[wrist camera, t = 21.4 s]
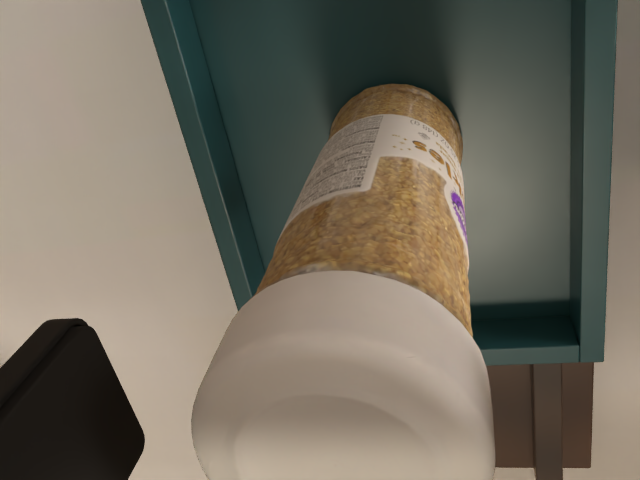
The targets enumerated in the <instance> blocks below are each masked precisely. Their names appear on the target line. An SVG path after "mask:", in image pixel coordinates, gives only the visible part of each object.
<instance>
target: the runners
mask: <svg viewBox="0 0 640 480" xmlns="http://www.w3.org/2000/svg"><path fill="white" fill-rule="evenodd" d="M486 368H487V373H488V378H489V385H490V393H491V401H492V409H493V425H494V441H495V467H499V468H534V472H535V478H536V480H563V468H590V467H591V445H592V410H593V375H594V362H587V363H580V361H579V362H578V363H553V364H523V365H493V366H486Z"/></svg>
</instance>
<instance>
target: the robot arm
mask: <svg viewBox="0 0 640 480" xmlns="http://www.w3.org/2000/svg"><path fill="white" fill-rule="evenodd" d="M144 443H145V438H144V433H143V430H142V428H141V426H140V424H139V422H138V420H137V417H136V415H135V413H134V411H133V409H132V407H131V405H130V403H129V401H128V399H127V396H126V394H125V392H124V390H123V388H122V386H121V384H120V382H119V380H118V377H117V375H116V373H115V371H114V369H113V367H112V365H111V363H110V361H109V358H108V356H107V354H106V352H105V350H104V348H103V346H102V344H101V342H100V340H99V337H98V335H97V333H96V332H95V330H94V329H93V328H92V327H90V326H88V325H87V323H86V322H85V321H83V320H82V319H78V318H73V319H52V320H48V321H46V322H44V323H43V324H42V325H41V326H40V327H39V328H38V329H37V330H36V331H35V332H34V333H33V334H32V335H31V336H30V337H29V338H28V340H27V341H26V342H25V343H24V344H23V345H22V346H21V347H20V348H19V349H18V350H17V351H16V352H15V353H14V354H13V355H12V356H11V358H10V359H9V360H8V361H7V362H6V363H5V364H4V365H3V366H2V367H1V368H0V480H128V478H129V476H130V474H131V473H132V471H133V469H134V467H135V465H136V463H137V462H138V460H139V458H140V456H141V454H142V452H143V449H144Z"/></svg>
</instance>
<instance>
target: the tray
mask: <svg viewBox="0 0 640 480" xmlns="http://www.w3.org/2000/svg"><path fill="white" fill-rule="evenodd" d="M141 3H142V6H143V10H144V13H145V16H146V19H147V22H148V26H149V29H150V32H151V35H152V38H153V42H154V45H155V48H156V51H157V54H158V57H159V61H160V64H161V67H162V70H163V73H164V77H165V80H166V83H167V86H168V89H169V92H170V96H171V99H172V102H173V105H174V108H175V112H176V115H177V118H178V121H179V124H180V128H181V131H182V134H183V137H184V140H185V143H186V147H187V150H188V153H189V156H190V159H191V163H192V166H193V169H194V172H195V175H196V178H197V182H198V185H199V188H200V191H201V194H202V198H203V201H204V204H205V207H206V210H207V213H208V217H209V220H210V223H211V226H212V229H213V233H214V236H215V239H216V242H217V245H218V249H219V252H220V255H221V258H222V261H223V264H224V268H225V271H226V274H227V277H228V280H229V284H230V287H231V290H232V293H233V296H234V299H235V303H236V306H237V309H238V311H239V310H240V309H241V307H242V306H243V305H245V304H246V303H247V302H248V301H249V300H250V299H251V298H252V297H253V296H254V295H255V293H256V292H257V288H258V287H259V285H260V283H261V281H262V279H263V277H264V275H265V273H266V270H267V268H268V265H269V263H270V261H271V260H272V258H273V254H274V250H275V246H276V244H277V241H278V239H279V237H280V235H281V233H282V230H283V228H284V226H285V224H286V222H287V220H288V218H289V216H290V214H291V212H292V210H293V208H294V206H295V204H296V201H297V199H298V197H299V195H300V193H301V191H302V189H303V187H304V184H305V182H306V180H307V178H308V176H309V174H310V172H311V170H312V168H313V166H314V164H315V162H316V160H317V158H318V156H319V154H320V152H321V151H322V149H323V147H324V146H325V144H326V143H327V142H328V139H329V136H330V130H331V126H332V123H333V121H334V119H335V117H336V116H337V114H338V112H339V111H340V109H341V108H342V107H343V106H344V105H345V104H346V103H347V102H348V101H349V100H350V99H351V98H353V97H354V96H356V95H358V94H359V93H361V92H362V91H363V90H365V89H367V88H370V87H375V86H379V85H385V84H408V85H412V86H415V87H418V88H421V89H424V90H427V91H428V92H430V93H431V94H432V95H434V96H435V97H437V98H438V99H439V100H440V101H441V102H443V103H444V104H445V105H446V106H447V107H448V108H449V110H450V111H451V113H452V114H453V116H454V118H455V119H456V121H457V123H458V125H459V129H460V133H461V137H462V141H463V151H462V160H461V165H460V167H461V170H462V175H463V182H464V200H465V219H466V232H467V243H468V255H469V270H468V280H469V286H468V289H469V294H470V312H471V328H472V333H473V339H474V341H475V343H476V344H477V346H478V347H479V349H480V351H481V354H482V357H483V359H484V362H485V365H486V366H493V365H523V364H553V363H578V362H579V361H580V363H587V362H603V361H604V342H605V317H606V291H607V265H608V239H609V213H610V187H611V162H612V136H613V110H614V84H615V58H616V32H617V7H618V0H141Z"/></svg>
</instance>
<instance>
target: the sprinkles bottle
mask: <svg viewBox="0 0 640 480" xmlns="http://www.w3.org/2000/svg"><path fill="white" fill-rule="evenodd" d="M462 151H463V141H462V137H461V133H460V129H459V125H458V123H457V121H456V119H455V118H454V116H453V114H452V113H451V111H450V110H449V108H448V107H447V106H446V105H445V104H444V103H443V102H441V101H440V100H439V99H438V98H437V97H435V96H434V95H432V94H431V93H430V92H428V91H427V90H424V89H421V88H418V87H415V86H412V85H408V84H385V85H379V86H375V87H370V88H367V89H365V90H363V91H362V92H361V93H359V94H358V95H356V96H354V97H353V98H351V99H350V100H349V101H348V102H347V103H346V104H345V105H344V106H343V107H342V108H341V109H340V111H339V112H338V114H337V116H336V117H335V119H334V121H333V123H332V126H331V130H330V136H329V139H328V142H327V143H326V144H325V146H324V147H323V149H322V151H321V152H320V154H319V156H318V158H317V160H316V162H315V164H314V166H313V168H312V170H311V172H310V174H309V176H308V178H307V180H306V182H305V184H304V187H303V189H302V191H301V193H300V195H299V197H298V199H297V201H296V204H295V206H294V208H293V210H292V212H291V214H290V216H289V218H288V220H287V222H286V224H285V226H284V228H283V230H282V233H281V235H280V237H279V239H278V241H277V244H276V246H275V250H274V254H273V258H272V260H271V261H270V263H269V265H268V268H267V270H266V273H265V275H264V277H263V279H262V281H261V283H260V285H259V287H258V288H257V292H256V293H255V295H254V296H253V297H252V298H251V299H250V300H249V301H248V302H247V303H246V304H245V305H243V306H242V307H241V309H240V310H239V311H238V313H237V314H236V316H235V317H234V318H233V320H232V321H231V323H230V325H229V327H228V329H227V330H226V332H225V335H224V337H223V339H222V341H221V343H220V345H219V347H218V349H217V351H216V353H215V355H214V357H213V359H212V361H211V363H210V366H209V368H208V370H207V372H206V374H205V376H204V379H203V381H202V383H201V385H200V387H199V389H198V392H197V396H196V399H195V402H194V405H193V412H192V419H191V424H192V438H193V445H194V448H195V451H196V454H197V457H198V460H199V462H200V464H201V466H202V468H203V470H204V472H205V474H206V476H207V477H208V479H209V480H493V475H494V469H495V441H494V425H493V409H492V401H491V393H490V385H489V378H488V373H487V368H486V365H485V362H484V359H483V357H482V354H481V351H480V349H479V347H478V346H477V344H476V343H475V341H474V339H473V333H472V328H471V312H470V294H469V289H468V286H469V280H468V270H469V255H468V243H467V232H466V219H465V200H464V182H463V175H462V170H461V167H460V165H461V160H462Z"/></svg>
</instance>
